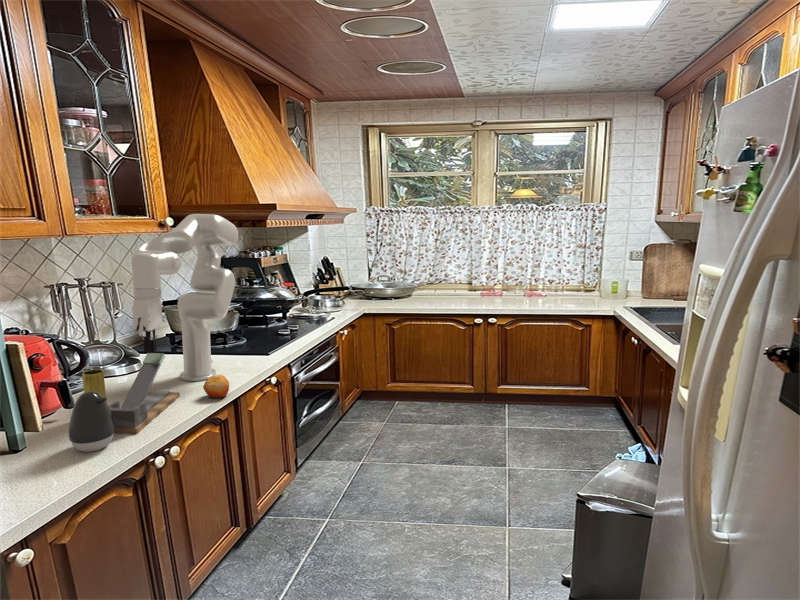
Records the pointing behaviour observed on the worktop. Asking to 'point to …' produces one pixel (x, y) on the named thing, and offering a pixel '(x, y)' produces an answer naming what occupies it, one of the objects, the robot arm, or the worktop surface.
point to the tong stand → (141, 411)
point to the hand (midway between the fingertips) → (150, 351)
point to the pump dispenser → (91, 423)
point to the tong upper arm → (143, 380)
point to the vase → (94, 381)
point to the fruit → (216, 386)
